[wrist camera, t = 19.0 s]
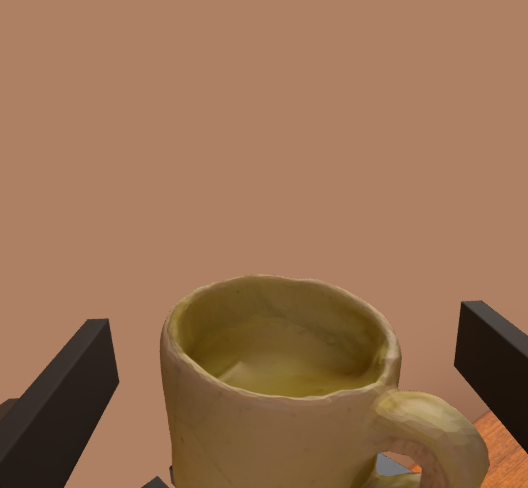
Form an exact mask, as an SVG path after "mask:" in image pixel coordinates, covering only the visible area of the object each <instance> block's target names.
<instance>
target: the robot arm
mask: <svg viewBox="0 0 528 488" xmlns="http://www.w3.org/2000/svg"><path fill="white" fill-rule="evenodd" d="M454 366H455V368H456V369H457V370H458V371H459V372H460V374H461V375H462V376H463V377H464V378H465V380H466V381H467V382H468V383H469V384H470V385H471V387H472V388H473V389H474V390H475V391H476V392H477V394H478V395H479V396H480V397H481V399H482V400H483V401H484V402H485V403H486V404H487V406H488V407H489V408H490V409H491V411H492V412H493V413H494V414H495V415H496V417H497V418H498V419H499V420H500V421H501V423H502V424H503V425H504V426H505V427H506V429H507V430H508V431H509V432H510V433H511V435H512V436H513V437H514V438H515V439H516V441H517V442H518V443H519V444H520V445H521V447H522V448H523V449H524V450H525V451H526V453H527V454H528V336H527V335H526V334H525V333H523V332H522V331H521V330H519V329H518V328H517V327H515V326H514V325H513V324H512V323H510V322H509V321H508V320H506V319H505V318H504V317H502V316H501V315H500V314H498V313H497V312H496V311H494V310H493V309H492V308H491V307H489V306H488V305H487V304H485V303H484V302H483V301H465V302H461V309H460V317H459V326H458V334H457V343H456V352H455V360H454ZM118 384H119V378H118V372H117V366H116V360H115V355H114V348H113V343H112V337H111V331H110V325H109V319H108V318H107V319H88V320H87V321H86V322H85V323H84V324H83V326H81V328H80V329H79V330H78V331H77V332H76V334H75V335H74V336H73V337H72V338H71V339H70V340H69V342H68V343H67V344H66V345H65V346H64V347H63V348H62V350H61V351H60V352H59V353H58V354H57V355H56V357H55V358H54V359H53V360H52V361H51V362H50V364H49V365H48V366H47V367H46V368H45V369H44V371H43V372H42V373H41V374H40V375H39V376H38V377H37V379H36V380H35V381H34V382H33V383H32V384H31V386H30V387H29V388H28V389H27V390H26V391H25V393H24V394H23V395H22V396H21V397H20V398H16V399H8V400H7V401H5V402H4V403H2V404H1V405H0V488H64V486H65V485H66V482H67V481H68V479H69V477H70V475H71V473H72V471H73V469H74V467H75V466H76V464H77V462H78V460H79V458H80V456H81V454H82V452H83V450H84V448H85V447H86V445H87V443H88V441H89V439H90V437H91V435H92V433H93V431H94V429H95V428H96V426H97V424H98V422H99V420H100V418H101V416H102V414H103V412H104V410H105V408H106V407H107V405H108V403H109V401H110V399H111V397H112V395H113V393H114V391H115V390H116V387H117V386H118Z"/></svg>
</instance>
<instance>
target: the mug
mask: <svg viewBox="0 0 528 488" xmlns="http://www.w3.org/2000/svg"><path fill="white" fill-rule="evenodd" d="M401 358H402V357H401V349H400V345H399V342H398V339H397V336H396V334H395V331H394V329H393V327H392V325H391V324H390V323H389V322H388V321H387V319H386V318H385V317H384V316H383V315H382V314H381V313H380V312H378V311H377V310H376V309H375V308H374V307H372V306H371V305H370V304H368V303H367V302H365V301H364V300H362V299H360V298H359V297H357V296H355V295H353V294H352V293H350V292H348V291H346V290H344V289H342V288H340V287H337V286H335V285H331V284H327V283H325V282H322V281H319V280H316V279H291V278H286V277H282V276H277V275H257V274H251V275H246V276H242V277H235V278H231V279H228V280H222V281H217V282H215V283H213V284H211V285H209V286H203V287H199V288H198V289H196V290H194V291H193V292H191V293H190V294H189V295H188V296H186V297H185V298H183V299H181V300H180V301H178V302H177V303H176V304H175V306H174V307H173V308H172V310H171V311H170V313H169V315H168V316H167V318H166V320H165V323H164V325H163V328H162V332H161V338H160V362H161V374H162V382H163V390H164V395H165V403H166V410H167V415H168V423H169V430H170V435H171V442H172V469H173V478H174V482H175V486H176V488H480V486H481V484H482V482H483V480H484V478H485V476H486V474H487V471H488V468H489V466H490V463H489V458H488V449H487V446H486V443H485V442H484V440H483V439H482V437H481V435H480V434H479V432H478V431H477V429H476V428H475V426H474V425H472V424H471V423H470V422H469V421H468V420H467V419H466V418H465V417H464V416H463V415H462V414H461V413H460V412H459V411H458V410H456V409H455V408H453V407H452V406H451V405H449V404H448V403H446V402H445V401H444V400H442V399H441V398H439V397H436V396H434V395H431V394H429V393H425V392H417V391H400V390H398V383H399V377H400V368H401ZM385 451H391V452H395V453H398V454H402V455H406V456H409V457H410V458H412V459H413V460H414V461H415V462H416V463H417V464H418V465H419V466H420V467H421V468H422V473H415V472H408V473H403V474H399V475H394V476H383V475H381V474H379V473H378V472H377V469H376V462H377V457H378V453H381V452H385Z"/></svg>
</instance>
